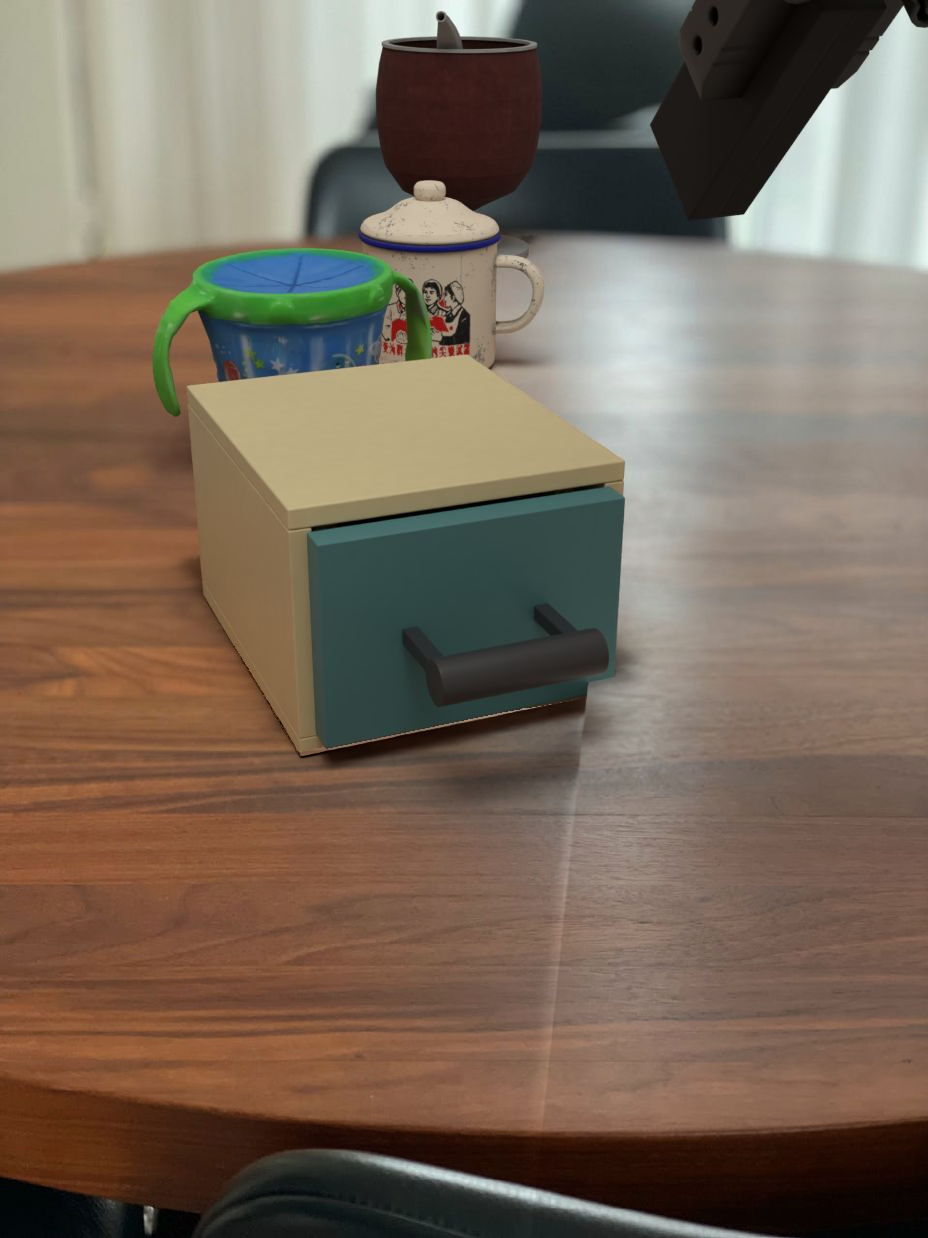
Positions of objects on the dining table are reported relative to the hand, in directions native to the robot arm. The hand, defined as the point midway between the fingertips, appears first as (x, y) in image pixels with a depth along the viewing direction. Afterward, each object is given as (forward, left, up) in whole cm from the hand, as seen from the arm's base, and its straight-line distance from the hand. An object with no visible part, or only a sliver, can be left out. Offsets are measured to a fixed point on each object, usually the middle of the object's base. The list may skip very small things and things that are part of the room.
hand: (697, 168), depth 34 cm
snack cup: (+19, -39, -22) cm, 49 cm away
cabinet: (+10, -17, -22) cm, 30 cm away
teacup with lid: (+13, -57, -22) cm, 63 cm away
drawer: (+8, -14, -21) cm, 27 cm away
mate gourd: (+17, -90, -22) cm, 95 cm away
